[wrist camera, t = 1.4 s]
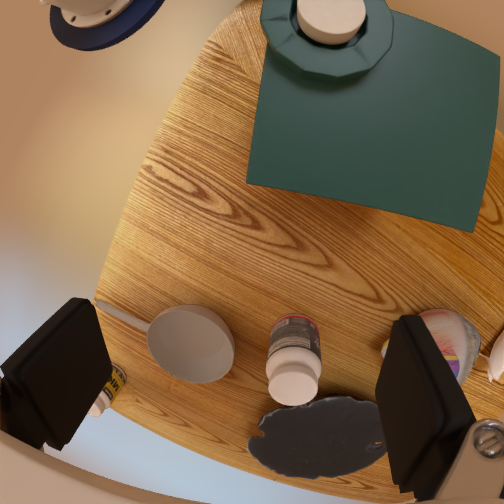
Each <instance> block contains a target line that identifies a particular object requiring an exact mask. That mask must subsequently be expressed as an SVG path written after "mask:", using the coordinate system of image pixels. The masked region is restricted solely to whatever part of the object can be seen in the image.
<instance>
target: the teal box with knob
mask: <svg viewBox="0 0 504 504" xmlns="http://www.w3.org/2000/svg"><path fill="white" fill-rule="evenodd" d="M363 1H364V4H365V8H366V16H365V19H364V21H363V23H362V25H361V26H360V28H359V30H358V31H357V33H356V34H355V36H354V37H353V38H352V39H350V40H349V41H347V42H345V43H342V44H337V45H328V44H323V43H319V42H317V41H315V40H313V39H311V38H310V37H308V36H307V35H306V34H305V33H304V32H303V31H302V29H301V28H300V26H299V23H298V20H297V0H263V4H262V10H261V15H260V24H261V27H262V30H263V33H264V35H265V37H266V39H267V47H266V53H265V59H264V66H263V72H262V78H261V84H260V91H259V97H258V104H257V110H256V117H255V123H254V130H253V136H252V143H251V150H250V157H249V163H248V170H247V177H246V183H247V184H252V185H258V186H264V187H270V188H276V189H281V190H287V191H292V192H298V193H303V194H308V195H314V196H319V197H324V198H329V199H334V200H339V201H343V202H348V203H353V204H357V205H362V206H367V207H371V208H376V209H380V210H384V211H389V212H393V213H397V214H401V215H405V216H409V217H413V218H417V219H421V220H425V221H429V222H433V223H437V224H441V225H445V226H448V227H452V228H456V229H459V230H463V231H466V232H470V233H473V232H474V228H475V225H476V221H477V217H478V214H479V210H480V206H481V202H482V198H483V194H484V189H485V185H486V180H487V175H488V170H489V165H490V160H491V154H492V148H493V141H494V134H495V127H496V118H497V109H498V96H499V81H500V56H498V55H497V54H495V53H493V52H491V51H489V50H487V49H486V48H484V47H482V46H480V45H478V44H476V43H474V42H472V41H469V40H468V39H465V38H463V37H461V36H459V35H457V34H455V33H452V32H450V31H448V30H445V29H443V28H441V27H438V26H436V25H433V24H431V23H428V22H426V21H423V20H420V19H417V18H415V17H411V16H409V15H406V14H403V13H400V12H397V11H394V10H390V9H389V8H388V5H387V4H386V2H385V0H363Z"/></svg>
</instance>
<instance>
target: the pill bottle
mask: <svg viewBox="0 0 504 504" xmlns="http://www.w3.org/2000/svg"><path fill="white" fill-rule="evenodd" d="M321 369H322V364H321V352H320V339H319V331H318V328H317V326H316V324H315V323H314V322H313V321H312V320H311V319H310V318H308V317H306V316H304V315H300V314H290V315H286V316H284V317H282V318H280V319H279V320H277V321H276V322H275V324H274V325H273V327H272V329H271V335H270V342H269V349H268V356H267V363H266V374H267V377H268V379H269V387H268V389H269V393H270V395H271V397H272V398H273V399H274V400H276V401H277V402H279V403H281V404H284V405H289V406H297V405H302V404H305V403H307V402H309V401H311V400H312V399H313V398H314V397H315V395H316V394H317V391H318V379H319V377H320V374H321Z"/></svg>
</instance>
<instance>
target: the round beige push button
mask: <svg viewBox="0 0 504 504" xmlns="http://www.w3.org/2000/svg"><path fill="white" fill-rule="evenodd" d="M365 16H366V8H365V4H364V1H363V0H297V20H298V23H299V26H300V28H301V29H302V31H303V32H304V33H305V34H306V35H307V36H308V37H310V38H311V39H313V40H315V41H317V42H319V43H323V44H328V45H337V44H342V43H345V42H347V41H349V40H350V39H352V38H353V37H354V36H355V34H356V33H357V31H358V30H359V28H360V26H361V25H362V23H363V21H364V19H365Z"/></svg>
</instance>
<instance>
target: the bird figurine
mask: <svg viewBox="0 0 504 504" xmlns="http://www.w3.org/2000/svg"><path fill="white" fill-rule="evenodd" d="M479 355H480V356H482V357H484V358H485V359H486V360H487V361H488V364H489V365H488V370H487V372H488V378H489V381H490V382H492V379H493V378H496V380H498V379H499V377H500V376H501V374H502V373H503V371H504V330H503V332H502V333H501V334H500V336H499V337H498V338H497V340H496V341H495V343H494V345H493V348H492V351H491V355H490V358H488V357H487V356H485V355H483V354H481V353H479Z"/></svg>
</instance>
